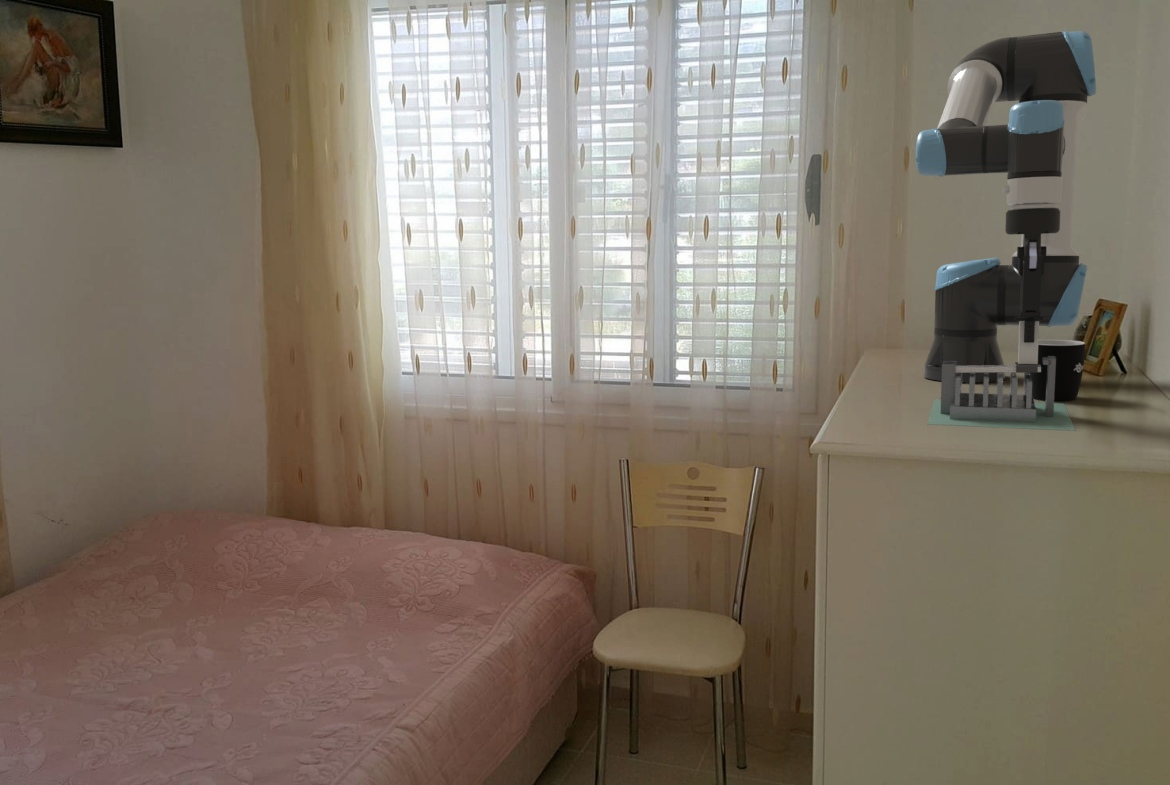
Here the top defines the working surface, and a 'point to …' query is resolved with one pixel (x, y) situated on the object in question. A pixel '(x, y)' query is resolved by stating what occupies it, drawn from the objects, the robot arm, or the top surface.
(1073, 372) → the mug
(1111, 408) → the top surface
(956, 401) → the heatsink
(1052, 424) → the board
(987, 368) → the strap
